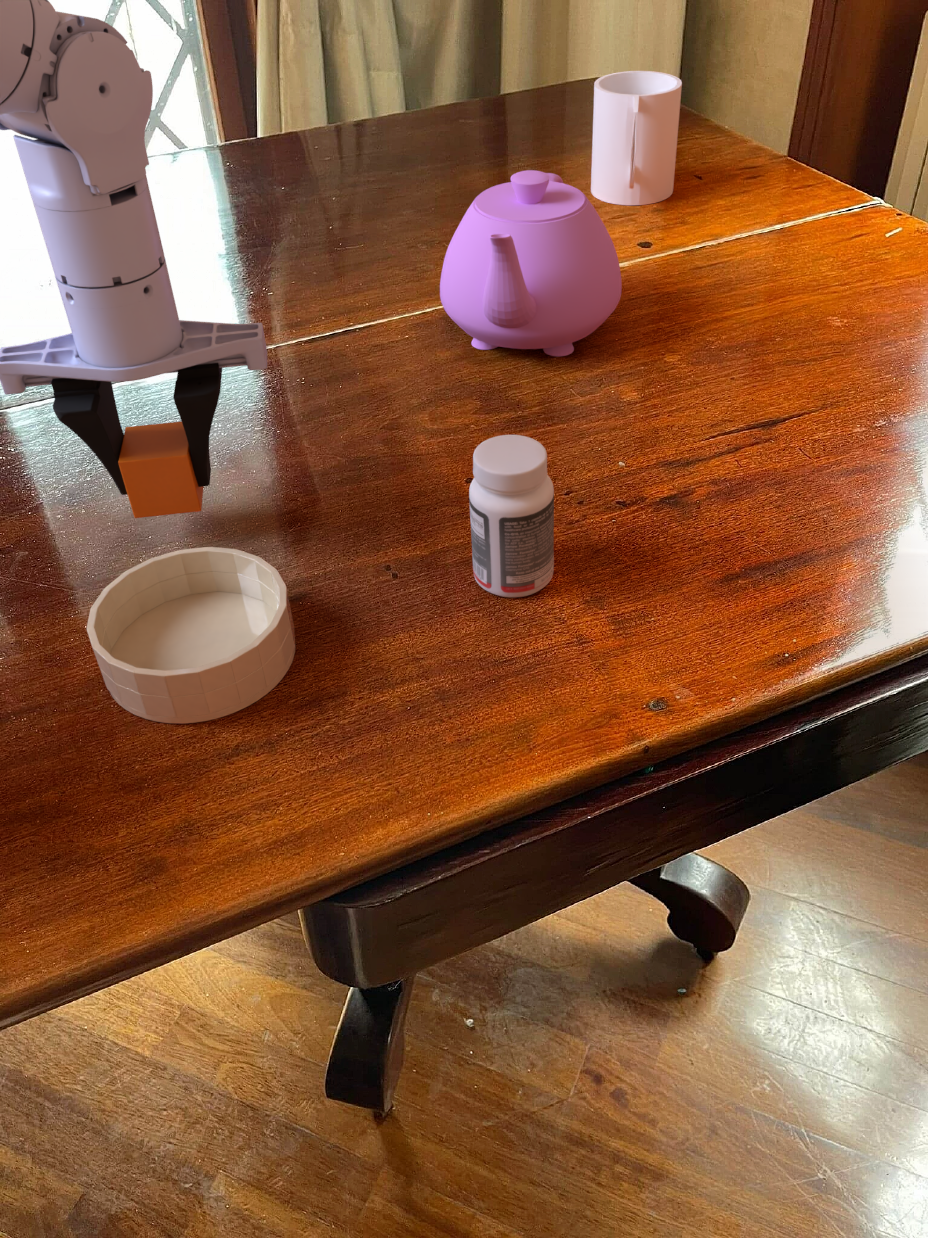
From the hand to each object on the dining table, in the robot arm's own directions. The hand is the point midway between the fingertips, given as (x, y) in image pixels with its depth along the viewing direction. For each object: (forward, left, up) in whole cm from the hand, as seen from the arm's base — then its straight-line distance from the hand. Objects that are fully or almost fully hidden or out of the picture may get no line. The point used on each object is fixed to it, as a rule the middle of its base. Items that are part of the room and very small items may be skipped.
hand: (167, 481), depth 67 cm
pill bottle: (+20, -8, -4) cm, 22 cm away
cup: (+41, +49, -4) cm, 64 cm away
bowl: (+2, -12, -4) cm, 13 cm away
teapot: (+26, +22, -4) cm, 34 cm away
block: (0, 0, -1) cm, 1 cm away
